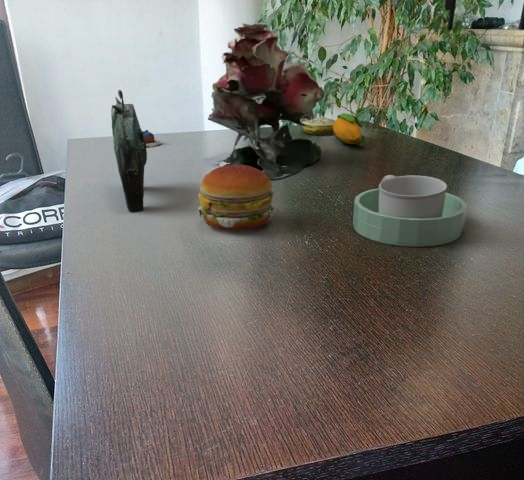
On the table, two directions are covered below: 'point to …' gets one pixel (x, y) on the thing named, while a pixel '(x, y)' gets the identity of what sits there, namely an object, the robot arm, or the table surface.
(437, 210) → the teacup
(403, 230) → the bowl
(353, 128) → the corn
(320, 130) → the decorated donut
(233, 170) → the burger
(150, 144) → the dessert
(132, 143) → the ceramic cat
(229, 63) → the rose bouquet
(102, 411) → the table surface
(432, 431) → the table surface
